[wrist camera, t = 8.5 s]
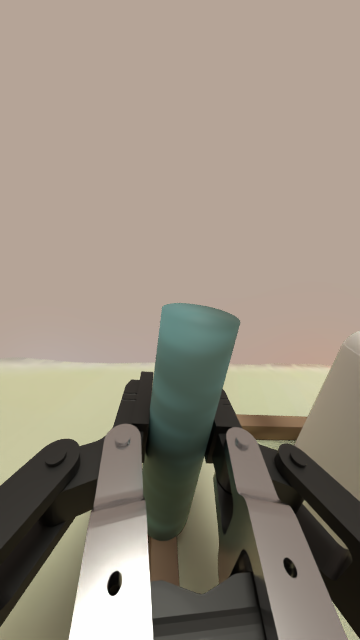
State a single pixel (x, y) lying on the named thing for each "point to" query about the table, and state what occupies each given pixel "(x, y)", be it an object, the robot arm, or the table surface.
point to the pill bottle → (337, 424)
